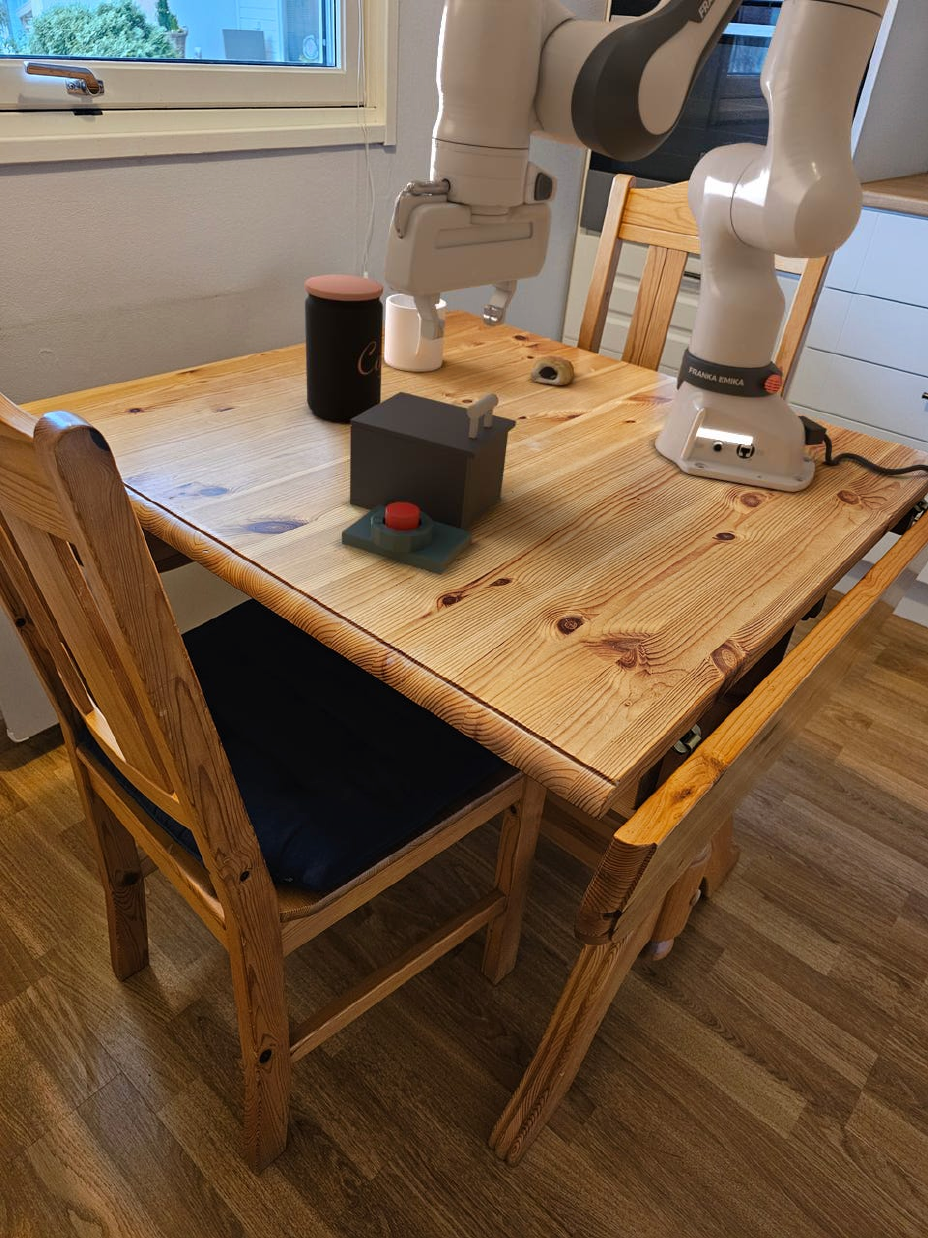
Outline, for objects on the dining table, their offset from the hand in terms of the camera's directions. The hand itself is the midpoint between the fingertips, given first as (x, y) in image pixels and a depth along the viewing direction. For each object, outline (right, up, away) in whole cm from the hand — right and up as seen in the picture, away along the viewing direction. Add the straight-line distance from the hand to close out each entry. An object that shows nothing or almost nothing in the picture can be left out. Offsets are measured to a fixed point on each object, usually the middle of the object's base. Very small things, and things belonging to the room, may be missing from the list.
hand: (463, 330), depth 86 cm
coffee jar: (-18, +1, +40) cm, 44 cm away
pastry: (+15, +12, +61) cm, 64 cm away
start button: (-7, -19, +5) cm, 21 cm away
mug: (-8, +14, +61) cm, 63 cm away
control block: (-6, -21, +8) cm, 23 cm away
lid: (-3, -7, +12) cm, 14 cm away
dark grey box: (-5, -15, +17) cm, 23 cm away
